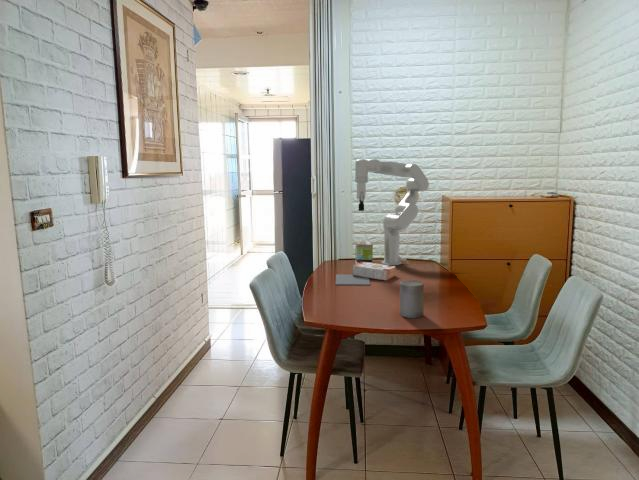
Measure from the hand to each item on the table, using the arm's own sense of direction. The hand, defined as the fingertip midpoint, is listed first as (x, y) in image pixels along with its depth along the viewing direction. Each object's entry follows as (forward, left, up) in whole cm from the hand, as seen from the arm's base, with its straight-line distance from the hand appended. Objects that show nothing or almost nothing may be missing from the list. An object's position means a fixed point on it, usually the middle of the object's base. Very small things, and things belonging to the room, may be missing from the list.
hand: (361, 210), depth 284 cm
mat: (+6, +35, -35) cm, 50 cm away
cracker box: (+3, +21, -31) cm, 37 cm away
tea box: (-2, -6, -35) cm, 36 cm away
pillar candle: (-17, +96, -35) cm, 104 cm away
